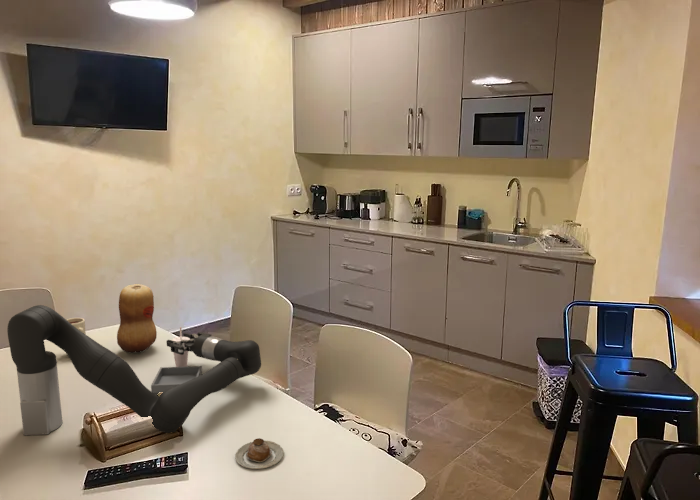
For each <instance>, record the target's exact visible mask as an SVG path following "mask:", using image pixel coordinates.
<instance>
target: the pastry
mask: <svg viewBox="0 0 700 500" xmlns="http://www.w3.org/2000/svg"><path fill="white" fill-rule="evenodd" d="M284 451H285V450H284V449H283V448H282V446H281V445H280V444H278V443H276V442H274V441H271V440H264V439H263V438H260V437H259V438H255V439H253V441H250V442H247V443H245V444H243V445H242V446H241V447H239V448H238V449H237V450H236V452H235V454H234V460H235V461H236V463H237V464H238V465H239V466H242V467H243V468H246V469H252V470H262V469H267V468H270V467H273V466H275V465H277V464H278V463H279V462H280V461H281V460H282V459H283V457H284V453H285V452H284ZM273 453H274V454H275V455H274V458H273V460H272V461H270V462H269V463H266V464H261V465H252V464H249V463H247V462H246V461H245V459H244V457H246V459H248V460H249V461H252V462H256V463H264V462H265V461H267V460H268V458H270V457H271V456H272V455H273Z"/></svg>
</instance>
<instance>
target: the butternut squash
mask: <svg viewBox="0 0 700 500" xmlns="http://www.w3.org/2000/svg"><path fill="white" fill-rule="evenodd" d="M154 298H155V297H154V293H153V290H152V289H151V288H150V286H147V285H145V284H141V283H140V284H139V283H135V284H129V285H126V286H124V287H123V288H122V289H121V291H120V293H119V298H118V312H119V321H120V323H119V327H118V329H117V332H116V340H117V341H116V342H117V345H118V347H119V348H120V349H121V350H122V351H124V352H126V353H130V354H131V353H136V354H137V353H144V352H145V351H146V350H148V349H149V348H150V347H151V346H152V345H154V343H155V341H157V335H158V334H157V333H158V332H157V327H156V324H155V322H154V320H153V315H154V311H155V304H154Z"/></svg>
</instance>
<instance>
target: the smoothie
mask: <svg viewBox="0 0 700 500" xmlns="http://www.w3.org/2000/svg"><path fill="white" fill-rule="evenodd" d="M182 330H183V329H182V326H180V327H179V336H177V337H174V338H171V340H172V341H181V340H189V339H190V338H188V337H183V331H182ZM177 345H180V344H177ZM183 345H184V347H185V343H183ZM172 354H173V358H174V362H175V367H188V363H189V362H188V361H189V360H188V359H189V351H185V352H184V354H183V355H180V354H177V353H174V352H172Z"/></svg>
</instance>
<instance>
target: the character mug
mask: <svg viewBox="0 0 700 500" xmlns="http://www.w3.org/2000/svg"><path fill="white" fill-rule="evenodd" d="M66 320H67V321H68V322H69V323H71V324H72V325H73V326H74V327H76V328H77V329H78V330H80V331H81V332H82V333H84V334H85V335H87V334H86V332H87V331H86V324H85V322H86V320H85V318H82V317H71V318H67V319H66Z"/></svg>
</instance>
